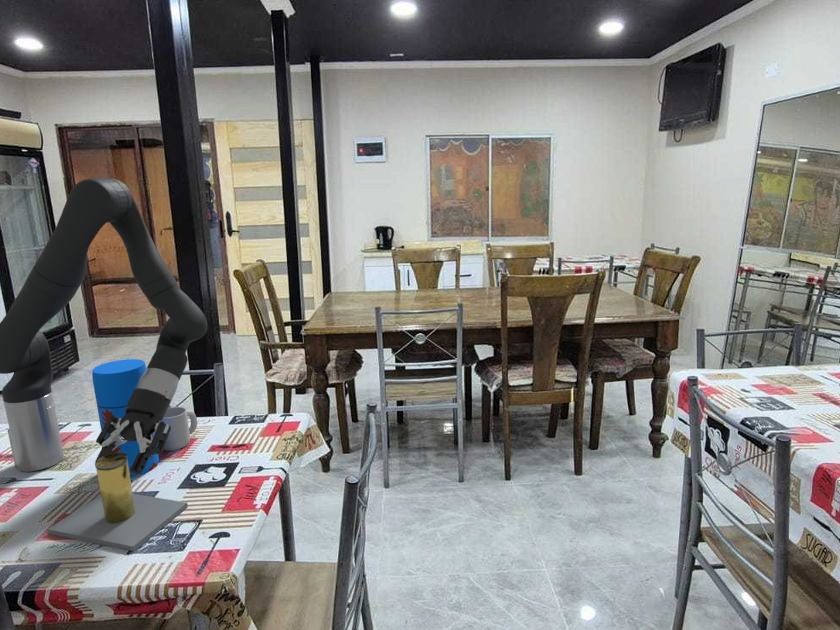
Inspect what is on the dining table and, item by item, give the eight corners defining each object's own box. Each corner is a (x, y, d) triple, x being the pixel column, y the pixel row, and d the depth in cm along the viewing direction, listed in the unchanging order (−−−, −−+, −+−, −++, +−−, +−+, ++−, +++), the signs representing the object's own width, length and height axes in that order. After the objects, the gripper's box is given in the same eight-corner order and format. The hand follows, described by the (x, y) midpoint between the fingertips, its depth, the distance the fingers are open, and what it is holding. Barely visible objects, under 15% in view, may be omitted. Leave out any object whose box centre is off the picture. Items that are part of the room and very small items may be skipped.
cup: (154, 446, 133) (149, 413, 131) (191, 432, 141) (187, 401, 139) (168, 454, 129) (164, 420, 127) (206, 439, 136) (202, 407, 134)
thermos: (138, 480, 117) (121, 375, 111) (97, 476, 119) (79, 373, 113) (170, 457, 127) (156, 359, 122) (132, 453, 129) (116, 357, 124)
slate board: (48, 533, 99) (47, 529, 98) (109, 493, 112) (109, 489, 111) (134, 551, 93) (133, 546, 93) (187, 507, 106) (187, 502, 106)
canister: (97, 521, 100) (88, 464, 98) (120, 505, 106) (111, 451, 103) (120, 525, 99) (110, 468, 96) (142, 509, 104) (133, 454, 101)
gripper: (114, 383, 108) (73, 460, 100) (170, 389, 104) (133, 470, 96) (137, 398, 114) (101, 471, 106) (192, 404, 110) (158, 481, 102)
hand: (116, 470), depth 101 cm, fingers open, 8 cm apart
